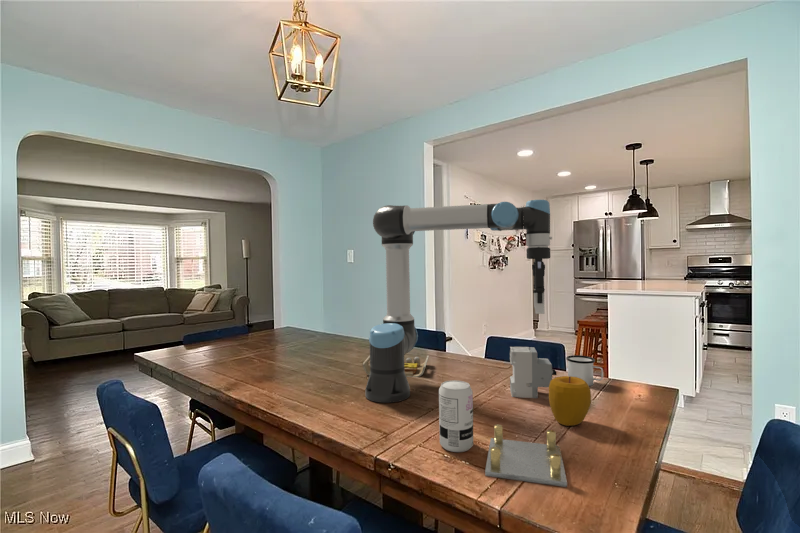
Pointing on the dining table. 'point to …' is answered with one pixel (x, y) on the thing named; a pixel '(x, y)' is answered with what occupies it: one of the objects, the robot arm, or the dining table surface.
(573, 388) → the apple
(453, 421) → the supplement can
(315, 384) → the dining table surface
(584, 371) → the mug
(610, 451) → the dining table surface
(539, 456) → the plate
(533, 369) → the circuit breaker
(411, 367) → the toy food set
